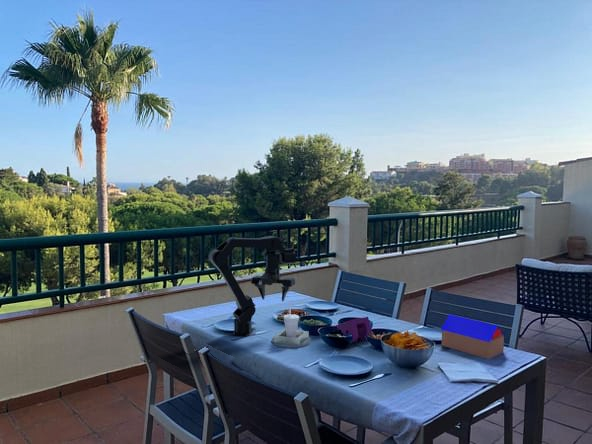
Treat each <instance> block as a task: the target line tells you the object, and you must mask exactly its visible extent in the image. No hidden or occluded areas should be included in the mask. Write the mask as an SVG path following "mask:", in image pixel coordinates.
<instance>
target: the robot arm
mask: <svg viewBox="0 0 592 444" xmlns="http://www.w3.org/2000/svg"><path fill="white" fill-rule="evenodd" d="M235 248H262V249H264V251H263V252H262V253H261V255H262V256H264V257H265V256H266V257H265V258H266V263H265V264H266V265H265V269H264V273H263V274H262V275H254V276H253V277H252V278H251V280H250V284H251V285H253V286H255V287H256V288H257V289H258V291H259V294H260V296H261V299H262V300H265V299H266V298H265V297H266V295H265V294H266V285H267V286H272V285H273V284H279V285H280V284H282V286H281V289H282V290H281V291H282V292H281V302H284V301H285V298H286V296H287V294H288V291H289V290H290V288H291V287H293V286H294V285H296V279H295V278H294V277H285V278H283V279H282V278H281V273H280V270H281V267H282V266H280V263H281V264H282V265H291V264H292V265H293V264H296V263H297V260H298V258H297V253H296V251H295V248H285V247H284V246H283V244H282V240H281V239H280V238H279V237H277V236H273V235H268V236H263V237H258V238H255V237H253V238H252V237H251V238H250V237H249V238H248V237H247V238H246V237H244V238H243V237H228V238H227V239H226V240H225V241H224V242H223V243H221V244H219V245H218V246H217V247H216V248H215V249H212V250H211V251H210V252H209V253H208V260H209V261H210V262H211V263H212V265H213V266H214V267H215V268H216V269H217V270H218V272H220V275H221V276H222V277H223V279H224V281H225V283H226V285H227V287H228V288H229V290H230V292H231V293H232V295H233V298H235V304H236V309H235V310H234V311H233V312H232V315H233V318H234V319H233V324H234V325H233V329H234V331H233V333H232V335H233V336H239V337H247V336H249V335H250V334H251V333H252V334H253V328H252V326H253V325H252V324H253V323H252V319H253V316H254V315H255V313H256V309H257V308H256V306H257V305H256V304H255V303H254V300H253V299H252V297H251V296H250V295H247V294H246V295H245V294H244V292H243V290H242V288H241V287H240V285H239V283H238V281H237V279H236V277H235V275H234V274H233V272H232V270H231V268H230V264H229V260H228V257H229V256H230V255H231V254H232V252H233V251H234V250H235ZM269 250H270V251H269ZM276 251H277V252H276Z"/></svg>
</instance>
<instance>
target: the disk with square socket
mask: <svg viewBox="0 0 592 444" xmlns="http://www.w3.org/2000/svg"><path fill="white" fill-rule="evenodd" d="M309 334H310V333H309V331H307V330H300V329H297V335H296V338H293V337H286V329H285V328H283V329H281V330H280V331H279V332H278V333H277V334H275V335H274V336H273V337H272V338H271V343H272V344H273V345H274V346H276V347H280V348H284V349H296V348H297V349H298V348H304V347H307V346H309V345H311V343H312V339H311V337H310V336H309Z"/></svg>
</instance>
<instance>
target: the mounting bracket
mask: <svg viewBox="0 0 592 444" xmlns="http://www.w3.org/2000/svg"><path fill="white" fill-rule="evenodd" d="M332 327H337V328H338V329H339V330H341V331H340V332H342V333H344V334H346V335H347V334H348V333H349V335H352V336H353V340H352V342H351V343H350V344H352V343H355V342H357V341H358V339H360V340H362V341H365V340H367V339H366V337H365V336H366V335H368V334H371V335H372V332H373V331H372V326H371V323H370V320H369V316H365V317H358V318H353V319H349V320H347V321H344V322H341V323H338V324H336V325H334V326H332ZM342 333H341V334H342Z"/></svg>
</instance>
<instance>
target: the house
mask: <svg viewBox="0 0 592 444" xmlns="http://www.w3.org/2000/svg"><path fill="white" fill-rule="evenodd" d="M440 330H441V346H442V347H446V348H449V349H453V350H455V351H456V350H457V351H460V352H463V353H465V354H470V355H472V356H476V357H479V358H483V359H485V360H486V359H487V360H490V359H492V358H494V357H497V356H498V355H501V354H503V353H504V347H505V345H504V344H505V336H506V335H505V333H504V332H503V330H502V329H501V328H500V326H499V325H497V324H492V323H487V322H483V321H480V320H476V319H471V318H468V317H467V318H466V317H463V316H460V315H454V314H449V315H447V318H446V320H445V322H444V323H443V324H442V327H441V329H440Z"/></svg>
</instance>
